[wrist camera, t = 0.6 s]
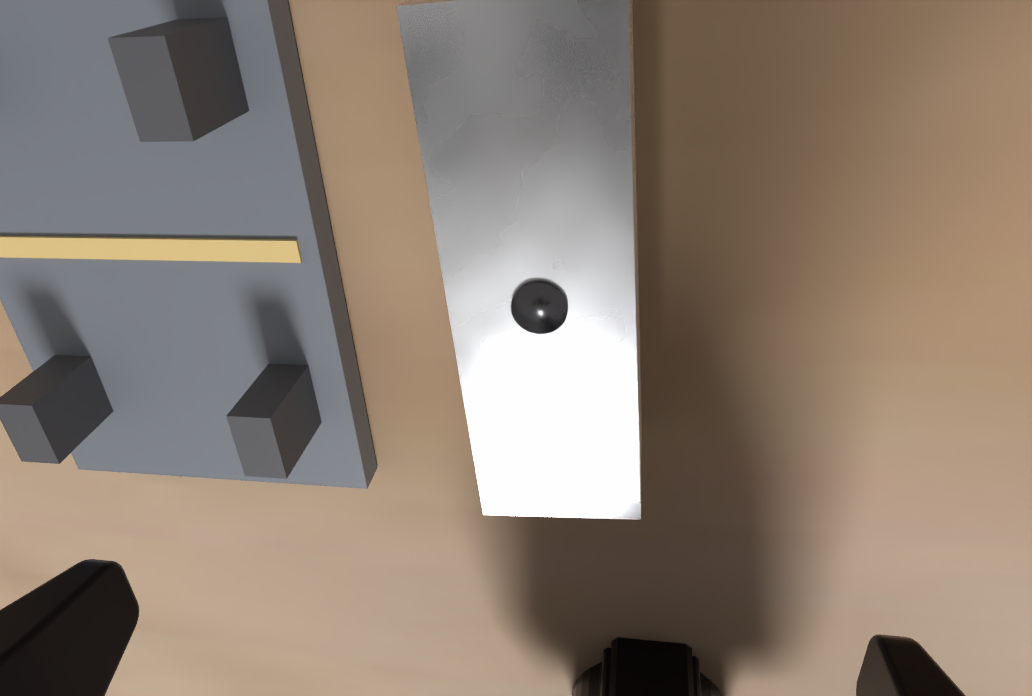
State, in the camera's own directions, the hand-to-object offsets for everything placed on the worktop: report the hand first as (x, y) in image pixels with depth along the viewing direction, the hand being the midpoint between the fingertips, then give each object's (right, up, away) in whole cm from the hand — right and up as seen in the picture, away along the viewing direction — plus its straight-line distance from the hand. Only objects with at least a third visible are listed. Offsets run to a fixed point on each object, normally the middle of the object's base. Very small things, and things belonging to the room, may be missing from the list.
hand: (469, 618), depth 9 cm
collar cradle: (-9, +6, +12) cm, 16 cm away
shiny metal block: (+2, +6, +10) cm, 12 cm away
